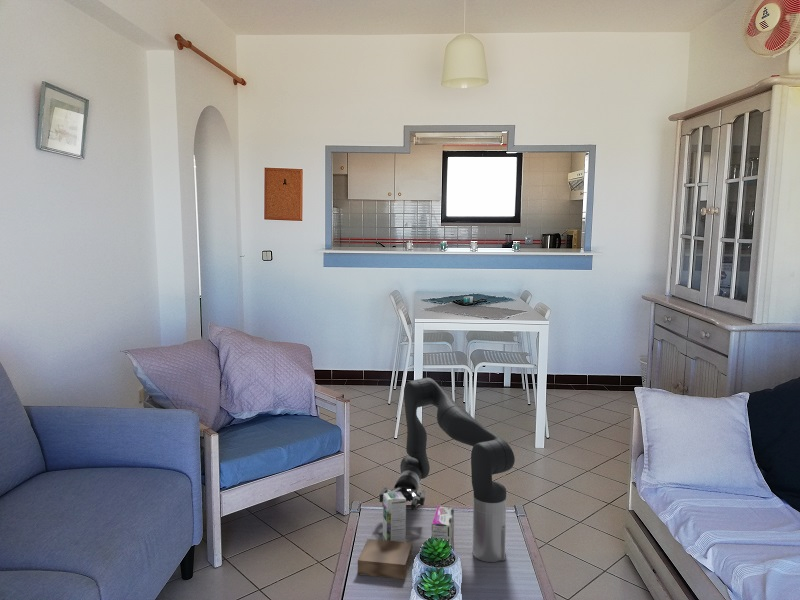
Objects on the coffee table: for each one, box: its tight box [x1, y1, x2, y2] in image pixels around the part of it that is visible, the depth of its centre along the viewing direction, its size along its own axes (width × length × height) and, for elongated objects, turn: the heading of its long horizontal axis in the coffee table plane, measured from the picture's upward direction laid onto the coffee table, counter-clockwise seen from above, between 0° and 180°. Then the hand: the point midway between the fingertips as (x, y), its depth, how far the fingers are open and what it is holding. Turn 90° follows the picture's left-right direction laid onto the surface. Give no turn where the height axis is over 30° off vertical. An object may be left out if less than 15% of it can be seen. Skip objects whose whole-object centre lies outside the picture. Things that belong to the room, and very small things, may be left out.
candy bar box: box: [431, 505, 455, 552], centre depth 167 cm, size 11×5×16 cm, turn 168°
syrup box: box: [382, 492, 407, 542], centre depth 183 cm, size 6×6×14 cm
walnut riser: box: [357, 538, 413, 580], centre depth 171 cm, size 13×12×4 cm
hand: (398, 506), depth 190 cm, fingers open, 8 cm apart
